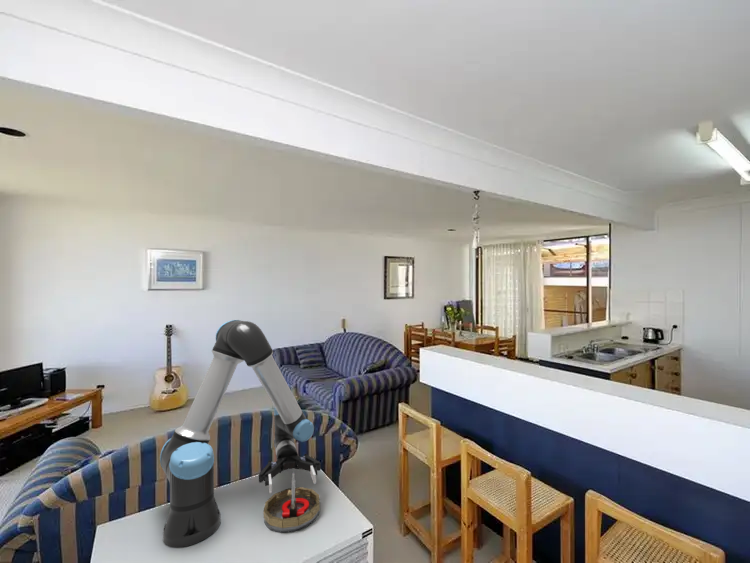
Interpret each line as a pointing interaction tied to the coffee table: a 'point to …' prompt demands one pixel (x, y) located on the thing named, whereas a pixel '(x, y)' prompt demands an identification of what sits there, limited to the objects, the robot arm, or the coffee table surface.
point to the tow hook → (294, 503)
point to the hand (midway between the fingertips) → (293, 483)
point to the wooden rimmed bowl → (275, 509)
